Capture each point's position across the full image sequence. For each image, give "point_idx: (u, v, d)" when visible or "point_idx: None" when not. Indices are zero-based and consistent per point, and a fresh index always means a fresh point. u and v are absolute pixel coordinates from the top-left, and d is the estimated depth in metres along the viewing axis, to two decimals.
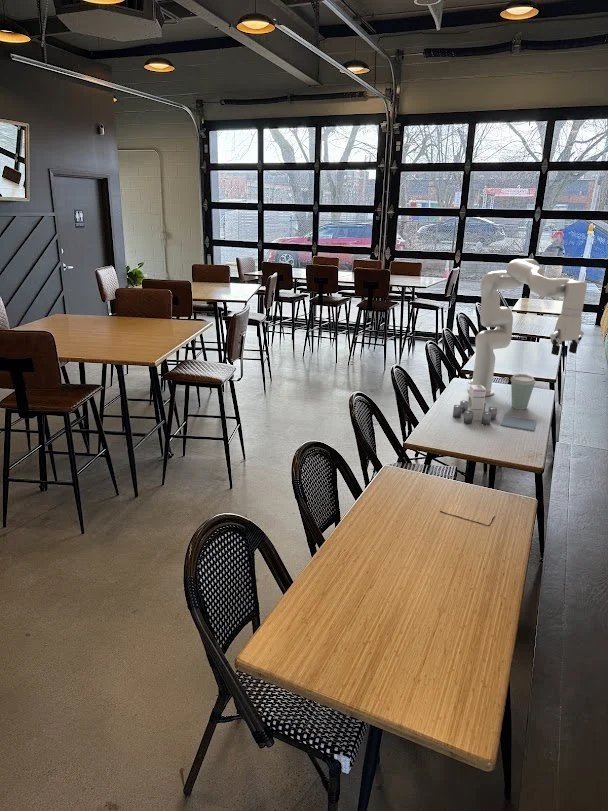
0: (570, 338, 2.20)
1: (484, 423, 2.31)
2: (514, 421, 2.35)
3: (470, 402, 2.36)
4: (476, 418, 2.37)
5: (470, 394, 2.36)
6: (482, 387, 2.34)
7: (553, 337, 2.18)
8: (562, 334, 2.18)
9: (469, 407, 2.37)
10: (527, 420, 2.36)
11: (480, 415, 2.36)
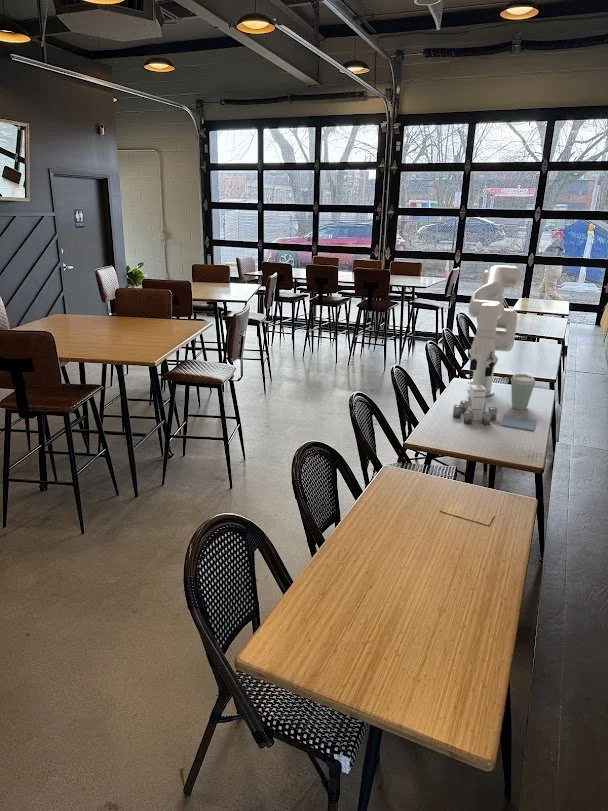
0: None
1: (484, 423, 2.31)
2: (514, 421, 2.35)
3: (470, 402, 2.36)
4: (476, 418, 2.37)
5: (470, 394, 2.36)
6: (482, 387, 2.34)
7: None
8: None
9: (469, 407, 2.37)
10: (527, 420, 2.36)
11: (480, 415, 2.36)
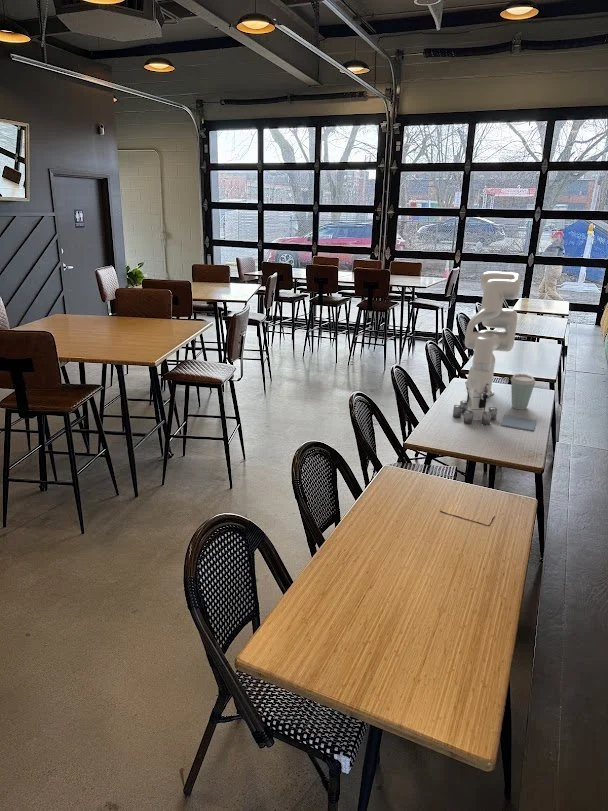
0: None
1: (484, 423, 2.31)
2: (514, 421, 2.35)
3: (470, 402, 2.36)
4: (476, 418, 2.37)
5: (470, 394, 2.36)
6: None
7: None
8: (489, 387, 2.31)
9: (469, 407, 2.37)
10: (527, 420, 2.36)
11: (480, 415, 2.36)
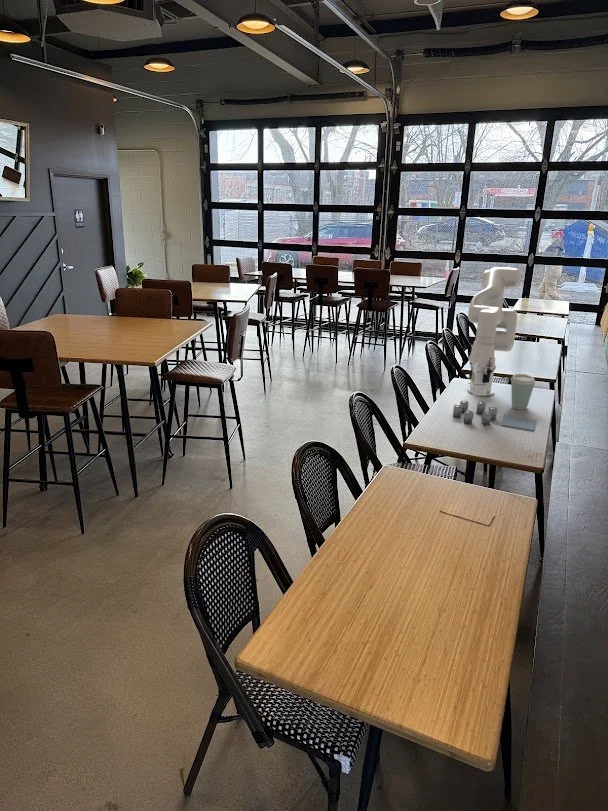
0: None
1: (484, 423, 2.31)
2: (514, 421, 2.35)
3: (473, 377, 2.32)
4: (480, 393, 2.33)
5: (473, 369, 2.33)
6: None
7: None
8: (493, 361, 2.27)
9: (472, 382, 2.34)
10: (527, 420, 2.36)
11: (484, 390, 2.33)
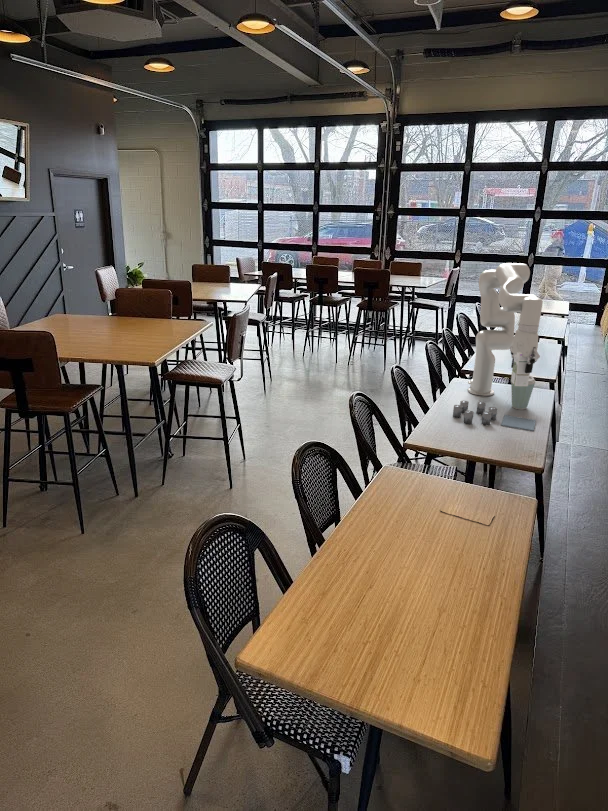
0: None
1: (484, 423, 2.31)
2: (514, 421, 2.35)
3: (515, 367, 2.25)
4: (521, 384, 2.26)
5: (515, 359, 2.26)
6: None
7: None
8: (536, 350, 2.20)
9: (514, 373, 2.27)
10: (527, 420, 2.36)
11: (526, 381, 2.26)
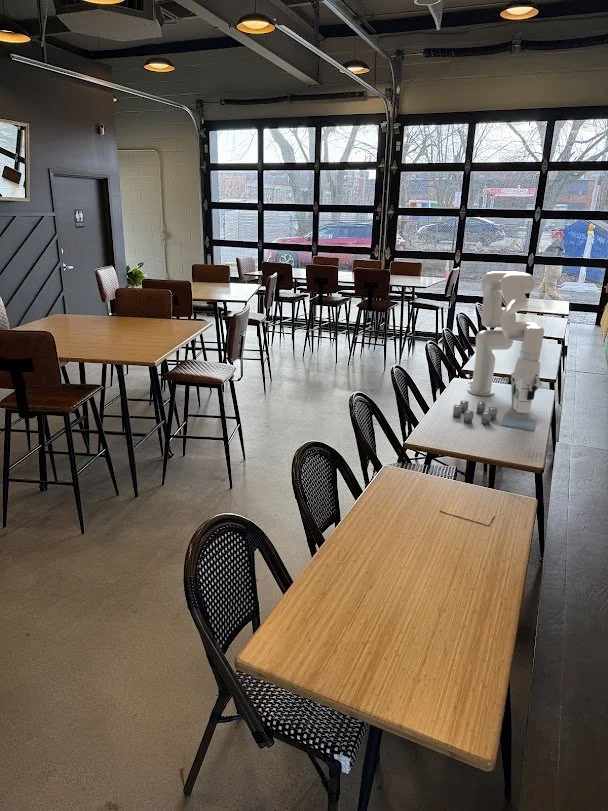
0: None
1: (484, 423, 2.31)
2: (514, 421, 2.35)
3: (517, 394, 2.29)
4: (523, 410, 2.29)
5: (517, 386, 2.29)
6: None
7: None
8: (538, 378, 2.23)
9: (516, 399, 2.30)
10: (527, 420, 2.36)
11: (528, 407, 2.29)
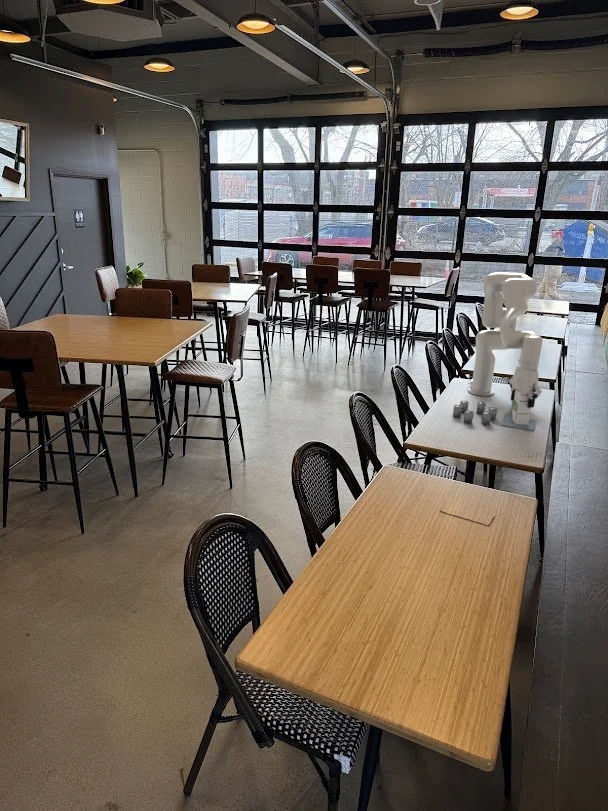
0: None
1: (484, 423, 2.31)
2: None
3: (516, 406, 2.30)
4: (522, 422, 2.31)
5: (516, 398, 2.31)
6: None
7: None
8: None
9: (515, 411, 2.32)
10: None
11: (526, 419, 2.31)
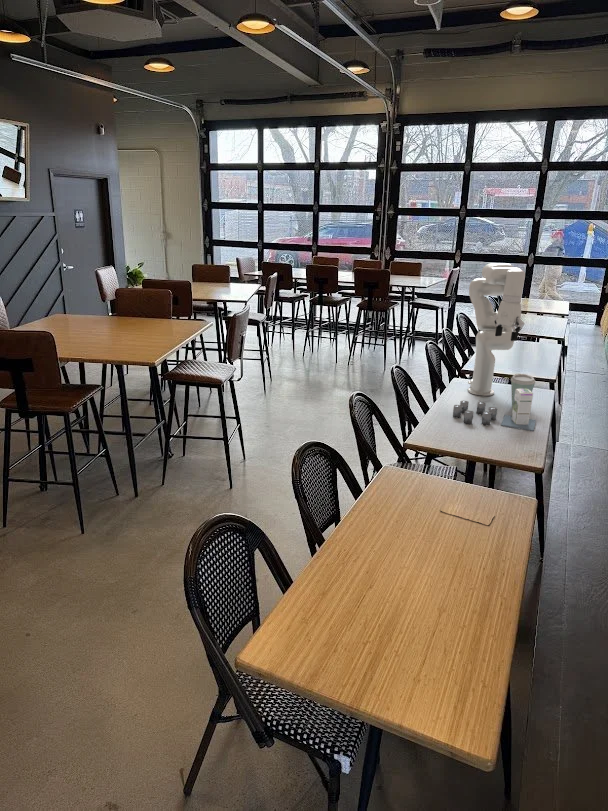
0: None
1: (484, 423, 2.31)
2: None
3: (516, 406, 2.30)
4: (522, 422, 2.31)
5: (516, 398, 2.31)
6: (529, 391, 2.28)
7: None
8: None
9: (515, 411, 2.32)
10: None
11: (526, 419, 2.31)
